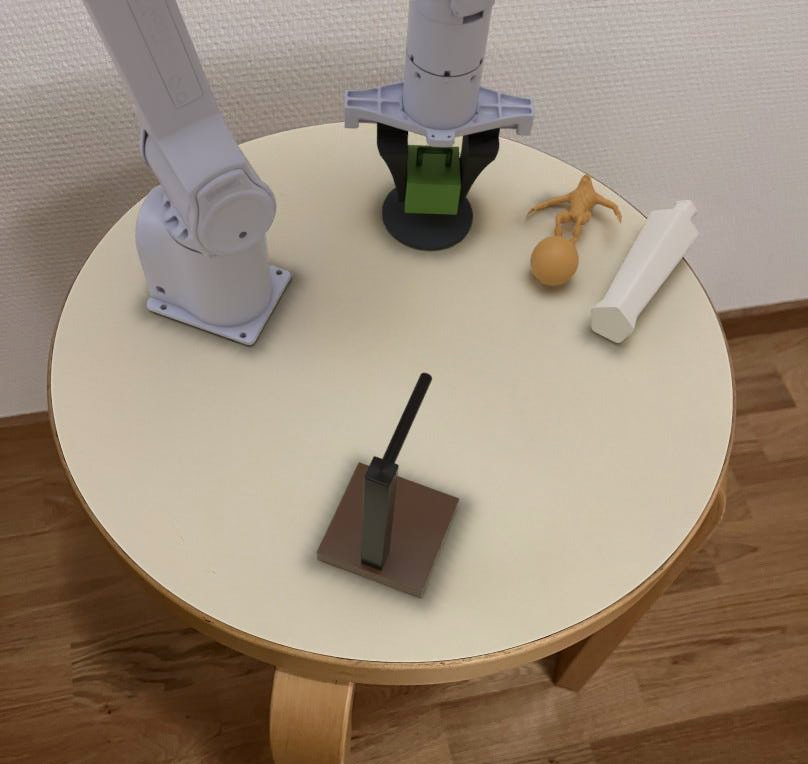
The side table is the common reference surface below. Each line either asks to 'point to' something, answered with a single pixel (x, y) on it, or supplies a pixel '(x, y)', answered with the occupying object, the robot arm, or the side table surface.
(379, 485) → the hook stand
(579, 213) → the figurine
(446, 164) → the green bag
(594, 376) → the side table surface
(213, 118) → the robot arm
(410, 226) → the mat
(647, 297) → the perfume bottle
